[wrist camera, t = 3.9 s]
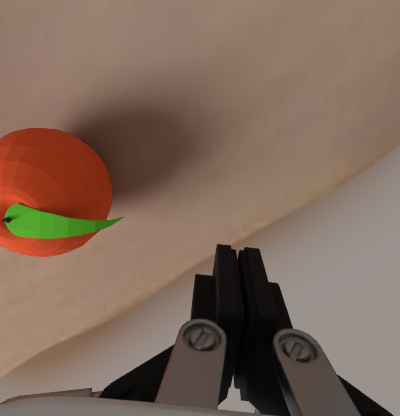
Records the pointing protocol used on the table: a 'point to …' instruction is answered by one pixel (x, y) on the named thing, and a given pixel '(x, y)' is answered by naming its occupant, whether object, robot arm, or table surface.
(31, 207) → the clementine
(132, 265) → the table surface
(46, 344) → the table surface
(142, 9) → the table surface
